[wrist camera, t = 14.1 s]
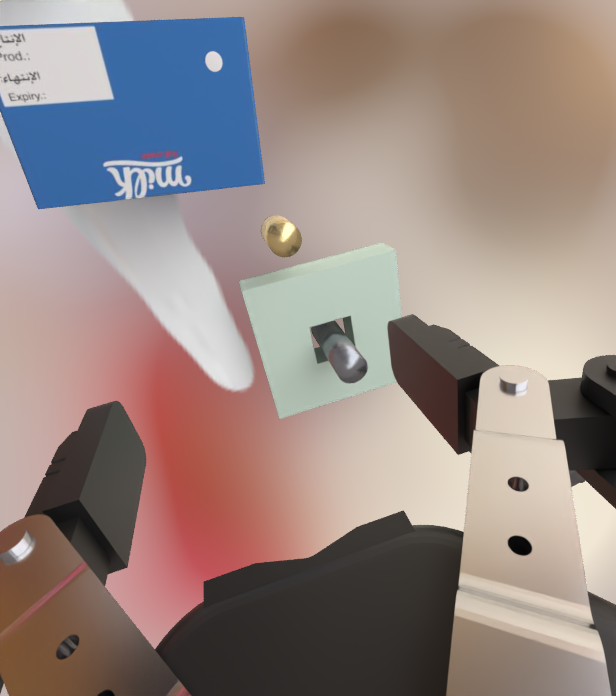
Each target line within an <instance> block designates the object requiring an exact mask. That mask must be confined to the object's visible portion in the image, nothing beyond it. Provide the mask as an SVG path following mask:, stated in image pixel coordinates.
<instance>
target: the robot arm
mask: <svg viewBox="0 0 616 696" xmlns="http://www.w3.org/2000/svg"><path fill="white" fill-rule="evenodd" d="M387 330H388V340H389V349H390V358H391V367H392V371H393V374H394V377H395V379H396V381H397V382H398V384H399V385H400V387H401V388H402V389H403V390H404V391H405V392H406V394H407V395H408V396H409V397H410V398H411V400H412V401H413V402H414V403H415V404H416V405H417V407H418V408H419V409H420V410H421V411H422V413H423V414H424V415H425V416H426V417H427V419H428V420H429V421H430V422H431V423H432V424H433V426H434V427H435V428H436V429H437V430H438V431H439V433H440V434H441V435H442V436H443V437H444V439H445V440H446V441H447V442H448V443H449V445H450V446H451V447H452V448H453V449H454V451H455V452H456V453H457V454H458V455H459V454H462V453H465V452H468V451H471V450H472V454H471V464H470V474H469V485H468V495H467V505H466V515H465V526H464V532H462V531H459V530H455V529H451V528H447V527H441V526H434V525H413V526H412V525H411V523H410V521H409V519H408V517H407V516H406V514H405V512H404V511H401V512H398V513H396V514H392V515H390V516H387V517H384V518H381V519H378V520H375V521H373V522H370V523H367V524H364V525H361V526H359V527H356V528H355V529H353V530H352V531H350V532H349V533H347V534H346V535H344V536H343V537H341V538H340V539H338V540H337V541H335V542H334V543H332V544H331V545H329V546H327V547H326V548H324V549H323V550H322V551H320V552H318V553H317V554H315V555H314V556H312V557H309V558H304V559H294V560H285V561H274V562H264V563H255V564H252V565H250V566H247V567H244V568H241V569H238V570H236V571H232V572H230V573H227V574H224V575H221V576H218V577H216V578H213V579H210V580H207V581H204V601H203V602H202V603H200V604H199V605H198V606H196V607H195V608H194V609H192V610H191V611H190V612H189V613H187V614H186V615H185V616H184V617H183V618H182V619H181V620H180V621H179V622H178V623H177V624H176V625H175V626H174V627H173V628H172V629H171V630H170V631H169V632H168V634H167V635H166V636H165V637H164V638H163V639H162V641H161V642H160V643H159V645H158V646H157V648H156V649H154V648H153V647H152V646H151V644H150V643H149V642H148V641H147V639H146V638H145V637H144V636H143V634H142V633H141V632H140V630H139V629H138V628H137V627H136V625H135V624H134V623H133V622H132V620H131V619H130V618H129V617H128V615H127V614H126V613H125V612H124V610H123V609H122V608H121V607H120V605H119V604H118V603H117V601H116V600H115V599H114V598H113V596H112V595H111V594H110V593H109V592H108V590H107V589H106V588H105V584H106V579H107V575H108V574H110V573H113V572H115V571H119V570H121V569H124V568H127V567H128V561H129V555H130V550H131V545H132V539H133V533H134V528H135V522H136V517H137V510H138V505H139V500H140V494H141V489H142V483H143V477H144V472H145V466H146V454H145V449H144V446H143V443H142V441H141V439H140V437H139V435H138V433H137V432H136V430H135V428H134V426H133V424H132V422H131V420H130V419H129V417H128V415H127V413H126V411H125V409H124V407H123V406H122V405H121V403H120V402H118V401H114V402H110V403H107V404H103V405H100V406H97V407H93V408H90V409H88V410H87V411H86V413H85V415H84V417H83V420H82V422H81V424H80V426H79V429H78V431H75V432H72V433H71V434H70V435H69V436H68V437H67V438H66V440H65V441H64V442H63V443H62V444H61V445H60V446H59V447H58V449H57V451H56V453H55V455H54V457H53V459H52V461H51V463H52V464H51V465H50V466H49V468H48V470H47V472H46V474H45V475H46V477H44V478H43V480H42V483H41V484H40V486H39V488H38V490H37V493H36V494H35V496H34V499H33V501H32V503H31V505H30V507H29V509H28V511H27V513H26V515H25V517H24V518H23V519H21V520H19V521H16V522H14V523H13V524H11V525H9V526H8V527H6V528H5V529H3V530H2V531H1V532H0V693H1V690H2V687H3V684H5V687H6V689H7V692H8V694H9V696H616V605H615V604H613V603H611V602H609V601H607V600H604V599H603V598H600V597H598V596H596V595H594V594H592V593H590V592H588V591H587V584H586V578H585V572H584V566H583V559H582V553H581V547H580V540H579V534H578V527H577V520H576V515H575V508H574V501H573V495H572V489H571V482H570V476H569V471H576V472H577V473H578V474H579V475H580V476H581V477H582V478H584V479H585V480H586V481H587V482H588V483H589V484H590V485H591V486H592V487H593V488H594V489H595V490H596V491H597V492H599V494H601V495H602V496H603V497H604V498H605V499H606V500H607V501H608V502H609V503H610V504H611V505H612V506H613V507H614V508H616V355H606V356H599V357H595V358H592V359H590V360H588V361H587V362H586V363H585V365H584V368H583V374H582V378H572V379H561V380H549V381H547V379H546V378H545V377H544V376H543V375H542V374H540V373H539V372H537V371H535V370H532V369H529V368H526V367H522V366H514V365H506V366H499V365H498V364H496V363H495V362H494V361H492V360H491V359H489V358H488V357H487V356H485V355H484V354H482V353H481V352H480V351H478V350H477V349H476V348H474V347H473V346H470V344H469V343H467V342H466V341H464V340H463V339H461V338H460V337H459V336H458V335H456V334H455V333H453V332H452V331H451V330H449V329H446V328H442V327H440V326H436V325H431V326H428V325H427V324H425V323H424V322H423V321H421V320H420V319H419V318H418V317H416V316H415V315H413V314H412V315H408V316H405V317H402V318H398V319H395V320H391V321H389V322H388V325H387Z"/></svg>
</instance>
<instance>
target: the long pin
mask: <svg viewBox="0 0 616 696" xmlns="http://www.w3.org/2000/svg"><path fill="white" fill-rule="evenodd" d="M311 330H312V334H313V336H314V337H315V339H316V341H317V342H318V344H319V346H320V347H321V349H322V351H323V352H324V354H325V356H326V357H327V359H328V360H329V362H330V364H331V365H332V367H333V369H334V370H335V372H336V374H337V375H338V377H339V379H340V380H341V381H343V382H344V383H349V384H350V383H356V382H358V381H360V380H361V379H362V378H363V377H364V376H365V375H366V373H367V370H368V364H367V362H366V360H365V359H364V357H363V356H362V355H361V354H360V352H359V351H358V350H357V349H356V347H355V346H354V345H353V343H352V342H351V341H350V340H349V338H348V337H347V336H346V334H345V333H344V332H343V331H342V329H341V328H340V327H339V326H338V324H337V323H336V322H335V320H333V321H330V322H326V323H323V324H320V325H316V326H313V327H312V328H311Z"/></svg>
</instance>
